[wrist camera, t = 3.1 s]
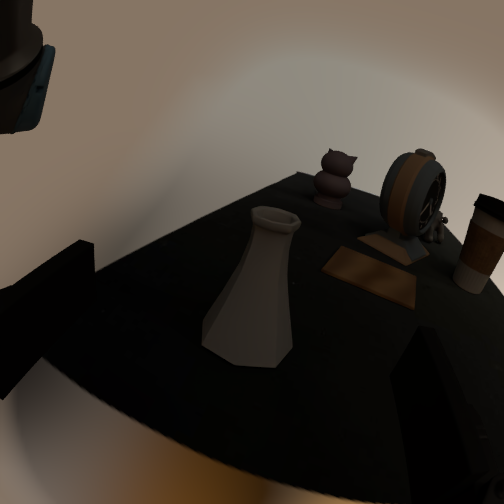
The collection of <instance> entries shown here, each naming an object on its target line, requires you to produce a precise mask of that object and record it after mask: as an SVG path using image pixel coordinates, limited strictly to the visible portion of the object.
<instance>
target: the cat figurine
mask: <svg viewBox="0 0 504 504" xmlns="http://www.w3.org/2000/svg"><path fill="white" fill-rule="evenodd" d="M356 159H357V157H353V156H348V155H347V154H345V153H343V152H340V151H333V150H331V149H329V151H328V153H327V154H325V155H324V156H323V158H322V160H321V166H322V169H323V170H322V171H320V172H318V173H317V174H316V175H315V176H314V180H313V182H314V186H315V188H316V189H317V191H318V192H319V193H318V194H315V196H314V200H313V201H314V202H315V203H317V204H319V205H321V206H324V207H327V208H330V209H338V210H339V209H341V207H342V203H343V202H342V201H341V200H340V199H341V198H343V197H345V196H347V195H348V194H349V192H350V190H351V184H350V181H349V179H348V178H347V177H348V176H349V175H350V174H351V173H352V171H353V164H354V162H355V161H356Z"/></svg>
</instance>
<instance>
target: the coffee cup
mask: <svg viewBox="0 0 504 504" xmlns="http://www.w3.org/2000/svg"><path fill="white" fill-rule="evenodd" d="M474 206H475V209H474V213H473V216H472V219H471V220H470V223H469V227H468V230H467V234H466V237H465V241H464V244H463V247H462V250H461V254H460V257H459V260H458V263H457V266H456V268H455V271H454V274H453V277H452V279H453V281H454V282H455V283H456V284H457V285H458V286H459V287H461V288H462V289H464V290H466V291H468V292H470V293H473V294H480V293H481V291H482V289H483V288H484V286H485V284H486V283H487V281H488V279H489V277H490V275H491V274H492V272H493V271H494V269H495V267H496V265H497V263H498V261H499V260H500V258H501V256H502V254H503V252H504V202H503V201H501V200H499V199H496V198H494V197H491V196H487V195H484V194H479V197H478V199H477V200H476V201H475V203H474Z"/></svg>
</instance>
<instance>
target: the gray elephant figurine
mask: <svg viewBox="0 0 504 504" xmlns="http://www.w3.org/2000/svg"><path fill="white" fill-rule="evenodd" d="M442 215H443V213H441V212H440V211H438V214H437V216H436V218H435V220H434V221H433V223H432V225H431V226H430V227H429V229H428V230H427V231H426V232H425V233H426V234H425V236H424V240H425V241H426V242H428V243H430V242H432V241H433V232H434V230H435V231H437V241H438V242H439V243H441V242H442V241H443V240H444V227H443V223H444V224H447V223H448V219H447V218H446V217H442ZM442 219H443V220H442ZM442 222H443V223H442Z"/></svg>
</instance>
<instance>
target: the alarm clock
mask: <svg viewBox="0 0 504 504" xmlns="http://www.w3.org/2000/svg"><path fill="white" fill-rule="evenodd" d="M435 159H436V157H435V155H434V154H433V153H432V152H430V151H427V150H424V149H417V150H416V151H415V153H410V152H408V153H405V154H402V155H400V156H399V157H398V158H397V159H396V160H395V161H394V162H393V164H392V165H391V167H390V169H389V171H388V173H387V175H386V177H385V180H384V182H383V186H382V190H381V194H380V203H379V204H380V213H381V216H382V217H383V219H384V221H385V222H386V223H387V224H389V229H386V230H381V231H376V232H372V233H367V234H365V236H362V237H358V238H357V239H358V240H360V241H362V242H364V243H366V244H368V245H369V246H371V247H373V248H375V249H377V250H378V251H380V252H382V253H384V254H385V255H387V256H389V257H391V258H392V259H394V260H396V261H398V262H399V263H401V264H403V265H405V266H407V265H409V264H411V263H413V262H415V261H418V260H420V259H422V258H424V257H426V256H428V255H429V252H428V251H427V250H426V249H425V248H424V246H423V245H422V244H421V242H420V240H419V239H418V237H416V236H420V235H422V234H424V233H425V232H426V231H427V230H428V229H429V227H430V226H431V225H432V223H433V221H434V220H435V218H436V216H437V214H438V211H439V209H440V206H441V203H442V200H443V197H444V193H445V186H446V173H445V170H444V168H443V167H442V166H441V165H440V163H438V162H437V161H435Z"/></svg>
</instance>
